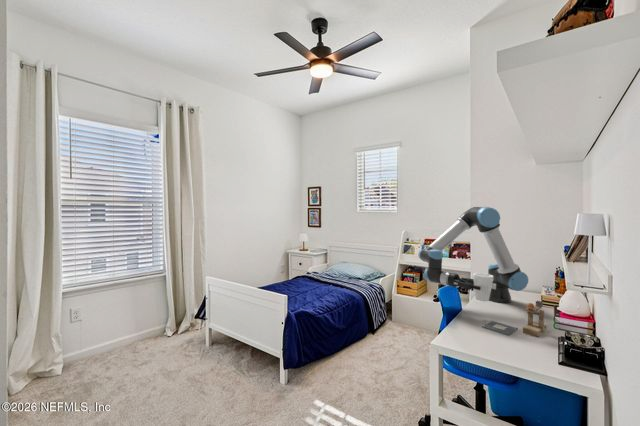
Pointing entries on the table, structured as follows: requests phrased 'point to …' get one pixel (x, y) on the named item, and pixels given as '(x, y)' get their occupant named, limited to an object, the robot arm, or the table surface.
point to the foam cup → (483, 281)
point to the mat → (500, 327)
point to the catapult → (535, 327)
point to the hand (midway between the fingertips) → (491, 288)
